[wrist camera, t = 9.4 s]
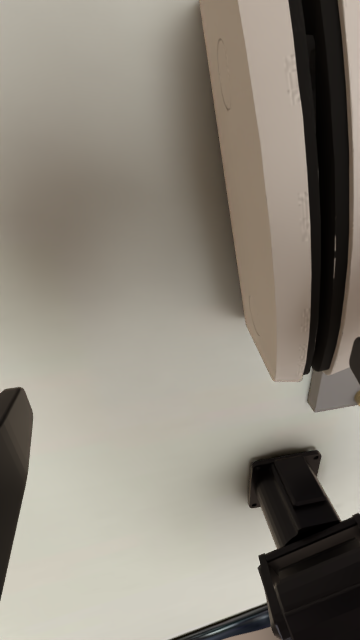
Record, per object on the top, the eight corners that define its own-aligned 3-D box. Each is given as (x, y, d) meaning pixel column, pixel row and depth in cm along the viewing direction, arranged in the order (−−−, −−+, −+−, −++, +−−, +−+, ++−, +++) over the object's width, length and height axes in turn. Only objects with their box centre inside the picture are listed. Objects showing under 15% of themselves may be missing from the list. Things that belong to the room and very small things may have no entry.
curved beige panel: (309, 300, 24) (396, 409, 15) (241, 315, 24) (288, 430, 15) (301, -32, 15) (498, -218, 6) (193, -1, 15) (241, -139, 7)
